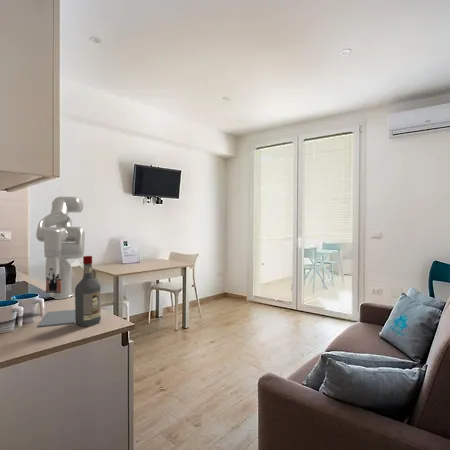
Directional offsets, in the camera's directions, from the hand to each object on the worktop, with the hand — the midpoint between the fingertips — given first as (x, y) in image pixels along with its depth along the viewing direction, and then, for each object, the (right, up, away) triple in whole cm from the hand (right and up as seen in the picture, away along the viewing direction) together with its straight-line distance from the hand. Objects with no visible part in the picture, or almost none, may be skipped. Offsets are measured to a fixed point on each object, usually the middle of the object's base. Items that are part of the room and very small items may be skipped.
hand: (53, 288), depth 159 cm
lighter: (0, -2, 0) cm, 2 cm away
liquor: (+25, -12, -18) cm, 34 cm away
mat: (+10, -11, -12) cm, 19 cm away
